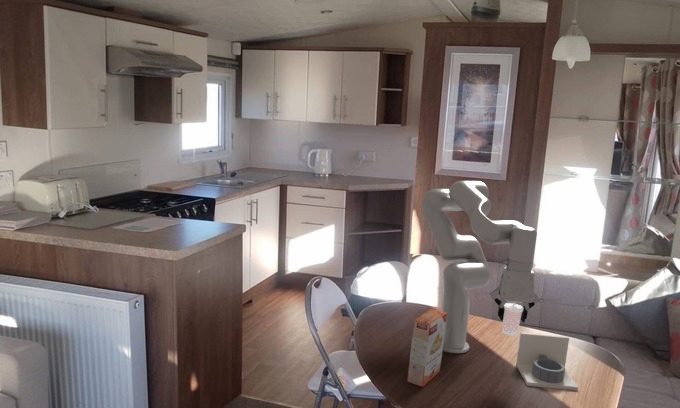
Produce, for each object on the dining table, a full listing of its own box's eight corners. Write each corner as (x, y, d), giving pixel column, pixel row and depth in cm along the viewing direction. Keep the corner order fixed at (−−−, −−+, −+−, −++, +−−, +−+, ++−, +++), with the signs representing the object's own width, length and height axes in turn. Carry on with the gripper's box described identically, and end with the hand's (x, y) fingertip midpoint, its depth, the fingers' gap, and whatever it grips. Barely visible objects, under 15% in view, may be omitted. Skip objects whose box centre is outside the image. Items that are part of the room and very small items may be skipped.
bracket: (527, 385, 186) (532, 350, 183) (516, 364, 200) (520, 332, 198) (577, 390, 185) (583, 355, 183) (563, 369, 199) (568, 336, 197)
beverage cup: (504, 327, 189) (510, 286, 186) (522, 333, 185) (528, 291, 183) (496, 332, 184) (502, 290, 182) (514, 338, 181) (521, 296, 178)
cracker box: (424, 388, 178) (430, 324, 175) (406, 382, 181) (412, 319, 178) (441, 372, 190) (448, 312, 187) (424, 367, 193) (430, 307, 190)
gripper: (493, 266, 177) (486, 321, 181) (550, 271, 177) (542, 327, 180) (489, 259, 185) (482, 312, 188) (544, 264, 184) (535, 318, 187)
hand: (511, 319), depth 184 cm, fingers closed on beverage cup, 6 cm apart
